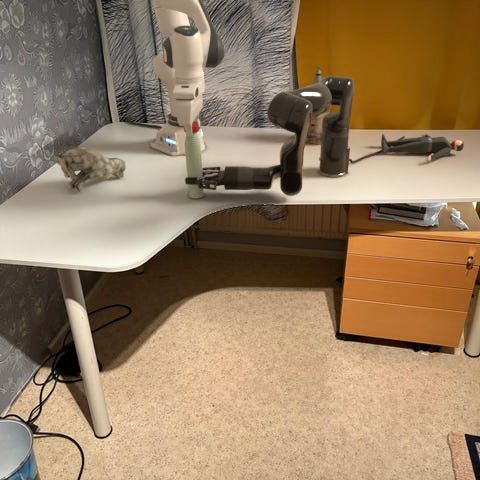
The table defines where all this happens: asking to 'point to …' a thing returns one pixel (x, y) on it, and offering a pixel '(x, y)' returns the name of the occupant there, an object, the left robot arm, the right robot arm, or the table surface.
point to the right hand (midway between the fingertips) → (186, 177)
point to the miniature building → (316, 118)
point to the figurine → (88, 166)
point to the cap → (194, 127)
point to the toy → (421, 145)
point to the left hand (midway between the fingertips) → (192, 131)
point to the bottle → (194, 163)
